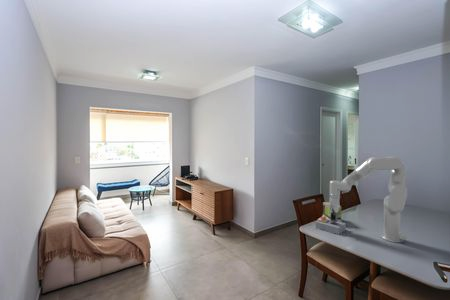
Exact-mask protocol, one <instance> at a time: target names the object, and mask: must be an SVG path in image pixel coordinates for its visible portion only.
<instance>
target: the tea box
mask: <svg viewBox="0 0 450 300" xmlns="http://www.w3.org/2000/svg"><path fill="white" fill-rule="evenodd" d="M324 215H325V216H326V219H330V220H331V212H330V210H329V201H325V202H324V201H323V202H322V216H324ZM338 222H342V206H341V205H339V209H338Z"/></svg>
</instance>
